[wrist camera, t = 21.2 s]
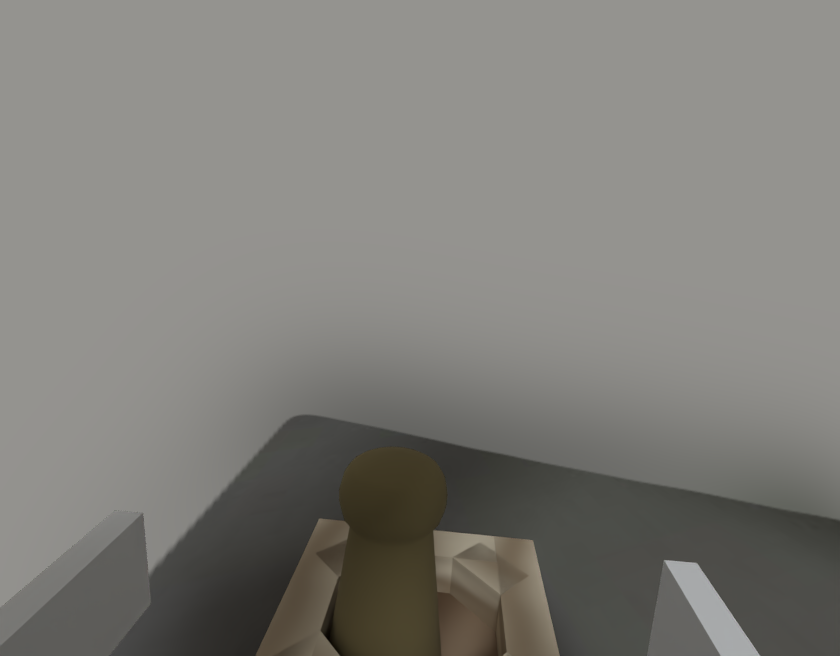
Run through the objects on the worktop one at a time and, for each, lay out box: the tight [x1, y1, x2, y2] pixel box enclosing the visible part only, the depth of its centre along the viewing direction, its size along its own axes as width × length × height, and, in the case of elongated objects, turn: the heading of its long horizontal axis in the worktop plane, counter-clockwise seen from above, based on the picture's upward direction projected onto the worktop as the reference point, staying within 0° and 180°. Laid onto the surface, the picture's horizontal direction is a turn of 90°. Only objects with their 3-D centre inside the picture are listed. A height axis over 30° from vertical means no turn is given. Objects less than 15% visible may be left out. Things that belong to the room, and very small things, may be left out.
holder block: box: [256, 519, 560, 656], centre depth 26 cm, size 14×14×3 cm
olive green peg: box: [329, 447, 447, 656], centre depth 25 cm, size 6×6×11 cm
